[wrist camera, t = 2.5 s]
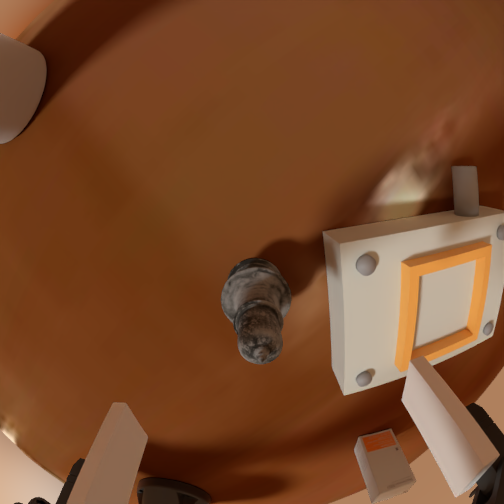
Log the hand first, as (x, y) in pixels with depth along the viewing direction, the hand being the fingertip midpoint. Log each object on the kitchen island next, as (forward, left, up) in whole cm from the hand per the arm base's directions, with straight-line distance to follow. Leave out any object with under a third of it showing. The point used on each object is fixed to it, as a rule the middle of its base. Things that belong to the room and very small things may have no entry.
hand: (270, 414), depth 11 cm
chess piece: (0, 0, -17) cm, 17 cm away
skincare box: (+14, -31, -17) cm, 38 cm away
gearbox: (+18, -2, -16) cm, 24 cm away
